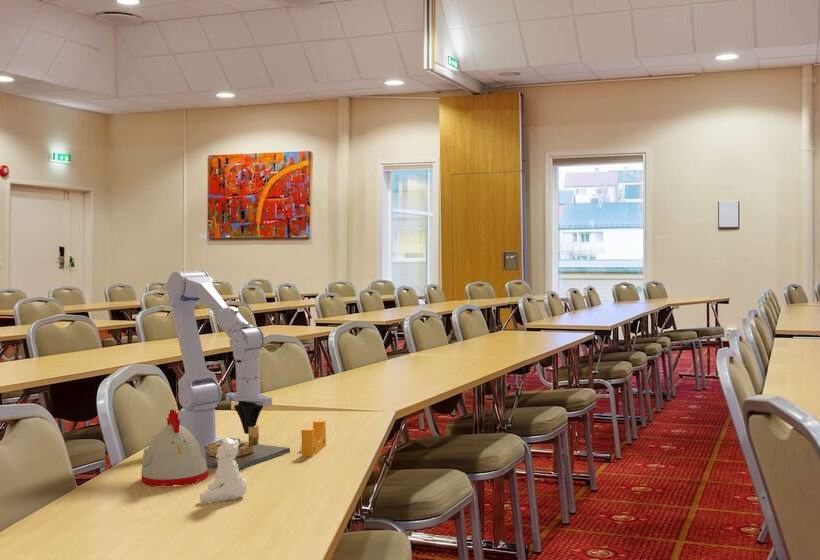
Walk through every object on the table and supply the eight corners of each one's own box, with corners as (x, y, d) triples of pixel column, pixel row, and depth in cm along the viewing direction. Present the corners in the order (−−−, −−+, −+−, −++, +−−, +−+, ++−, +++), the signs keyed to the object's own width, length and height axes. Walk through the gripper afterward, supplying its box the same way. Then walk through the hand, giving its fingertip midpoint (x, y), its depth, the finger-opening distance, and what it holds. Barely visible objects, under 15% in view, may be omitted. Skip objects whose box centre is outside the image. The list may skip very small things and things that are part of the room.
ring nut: (198, 454, 216) (198, 429, 216) (227, 445, 225) (227, 422, 225) (234, 458, 211) (233, 433, 210) (262, 449, 220) (261, 425, 220)
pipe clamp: (309, 445, 229) (308, 420, 229) (325, 446, 228) (325, 420, 228) (294, 456, 217) (294, 429, 217) (312, 457, 217) (311, 430, 216)
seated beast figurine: (210, 491, 188) (208, 433, 187) (251, 490, 187) (250, 432, 187) (198, 504, 178) (196, 443, 178) (242, 504, 178) (240, 442, 177)
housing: (169, 461, 214) (168, 444, 214) (225, 444, 231) (225, 428, 231) (236, 470, 204) (236, 452, 204) (289, 451, 222) (289, 435, 222)
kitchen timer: (148, 490, 189) (146, 418, 189) (135, 476, 201) (133, 408, 201) (215, 481, 196) (213, 411, 195) (198, 468, 208) (196, 402, 207)
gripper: (215, 377, 223) (217, 432, 224) (255, 381, 214) (257, 439, 215) (237, 373, 229) (239, 427, 229) (277, 378, 220) (279, 434, 220)
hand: (249, 433), depth 222 cm, fingers closed
